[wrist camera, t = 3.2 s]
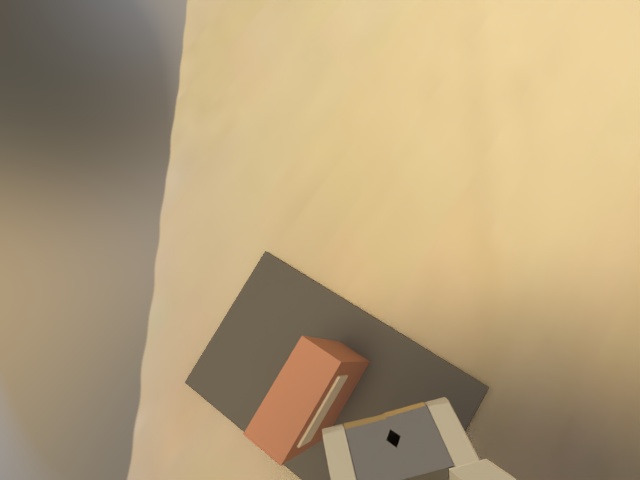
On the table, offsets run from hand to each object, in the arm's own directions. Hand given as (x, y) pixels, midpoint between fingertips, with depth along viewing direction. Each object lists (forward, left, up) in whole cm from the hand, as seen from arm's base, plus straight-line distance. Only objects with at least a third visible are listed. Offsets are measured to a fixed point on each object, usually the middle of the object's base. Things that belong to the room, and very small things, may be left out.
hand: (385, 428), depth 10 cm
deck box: (+7, +3, -25) cm, 27 cm away
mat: (+8, +3, -26) cm, 27 cm away
